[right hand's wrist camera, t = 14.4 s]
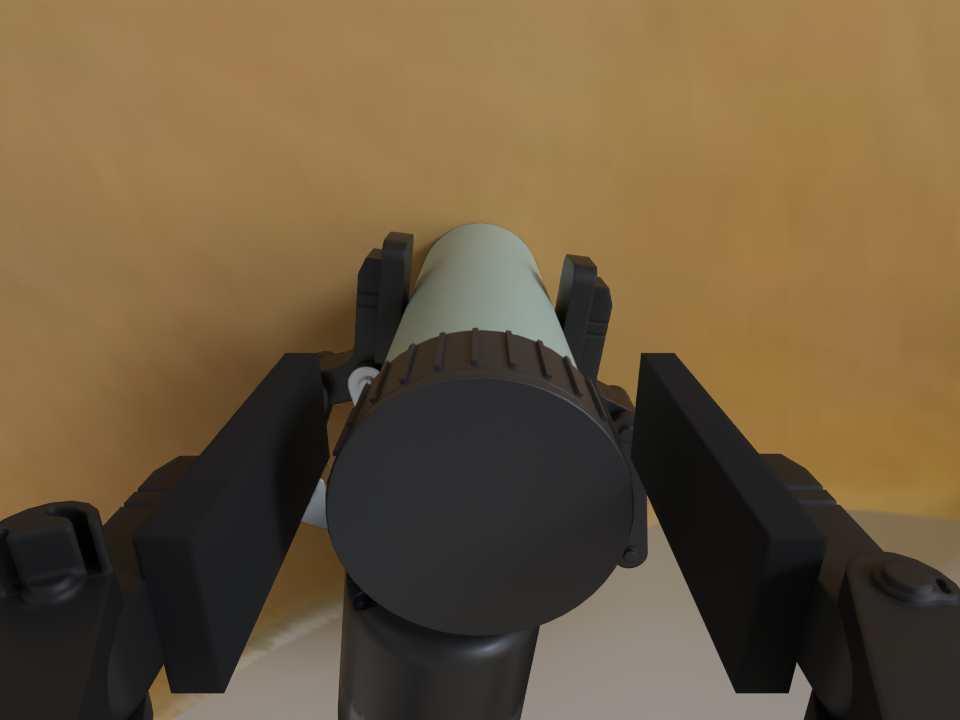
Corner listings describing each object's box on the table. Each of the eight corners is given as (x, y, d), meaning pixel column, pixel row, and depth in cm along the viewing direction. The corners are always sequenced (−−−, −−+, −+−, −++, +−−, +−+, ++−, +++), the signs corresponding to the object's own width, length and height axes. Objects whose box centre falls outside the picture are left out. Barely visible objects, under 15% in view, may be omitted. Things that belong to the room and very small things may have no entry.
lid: (295, 402, 12) (254, 463, 10) (539, 275, 11) (553, 311, 9) (431, 590, 14) (422, 677, 12) (652, 495, 13) (686, 570, 11)
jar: (484, 197, 24) (490, 311, 10) (562, 286, 25) (671, 505, 11) (397, 277, 25) (285, 488, 11) (475, 359, 26) (470, 642, 12)
